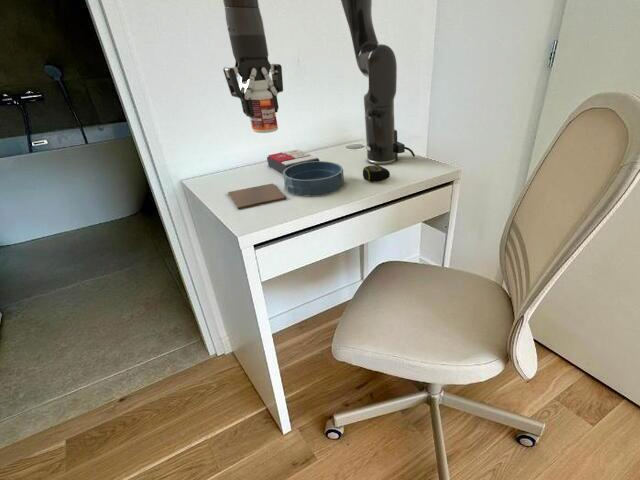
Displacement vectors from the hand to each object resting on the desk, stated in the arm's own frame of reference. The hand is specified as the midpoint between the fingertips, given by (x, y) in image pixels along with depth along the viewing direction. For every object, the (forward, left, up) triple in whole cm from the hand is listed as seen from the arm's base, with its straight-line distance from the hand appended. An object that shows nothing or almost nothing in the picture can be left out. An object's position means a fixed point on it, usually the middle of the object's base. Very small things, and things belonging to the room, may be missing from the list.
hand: (262, 113), depth 94 cm
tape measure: (-27, +6, -20) cm, 35 cm away
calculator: (-10, -17, -20) cm, 29 cm away
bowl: (-10, +1, -20) cm, 23 cm away
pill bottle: (0, 0, -4) cm, 4 cm away
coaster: (+6, 0, -20) cm, 21 cm away
